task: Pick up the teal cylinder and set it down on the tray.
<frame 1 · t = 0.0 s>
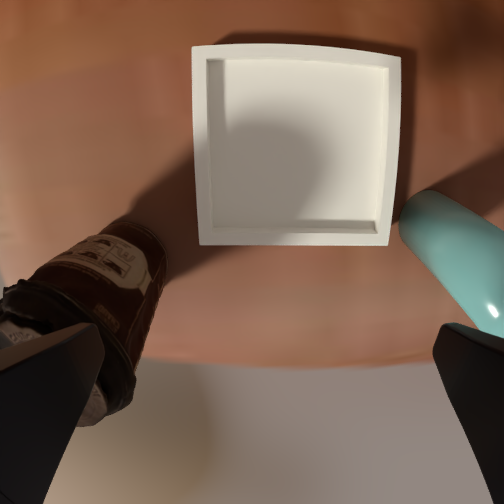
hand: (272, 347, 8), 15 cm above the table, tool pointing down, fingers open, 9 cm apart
coffee cup: (129, 257, 23), on the table
teal cylinder: (426, 221, 21), on the table
tray: (296, 143, 20), on the table
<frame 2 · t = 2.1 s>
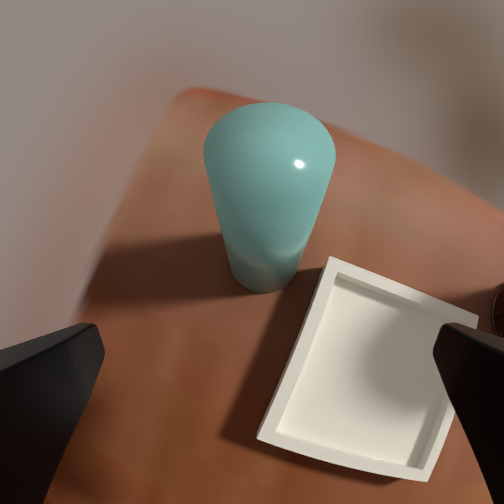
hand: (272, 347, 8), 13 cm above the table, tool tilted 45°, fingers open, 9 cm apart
teal cylinder: (264, 259, 23), on the table
tray: (374, 377, 19), on the table
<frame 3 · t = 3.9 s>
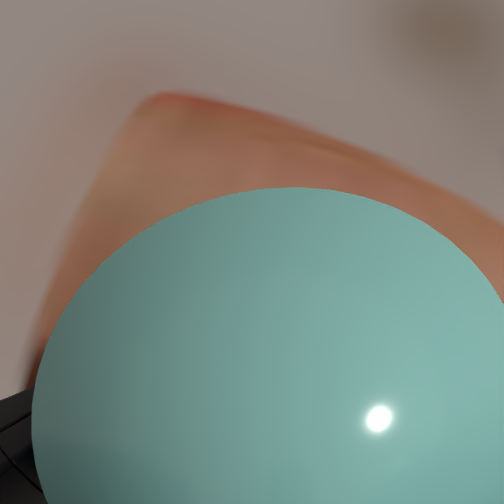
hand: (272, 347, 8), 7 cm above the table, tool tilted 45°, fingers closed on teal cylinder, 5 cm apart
teal cylinder: (265, 389, 13), on the table, touching gripper
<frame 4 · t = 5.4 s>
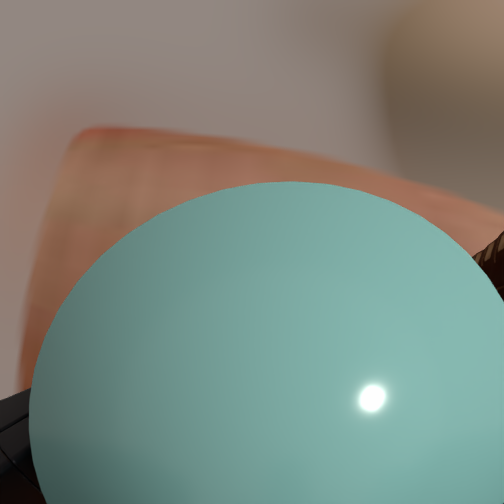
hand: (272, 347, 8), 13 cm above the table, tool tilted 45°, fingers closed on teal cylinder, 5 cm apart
coffee cup: (464, 310, 21), on the table
teal cylinder: (265, 388, 13), point 7 cm above the table, touching gripper
when the fingers open (9 cm above the table, at t = 6.8 s): teal cylinder drops 1 cm, resting on tray.
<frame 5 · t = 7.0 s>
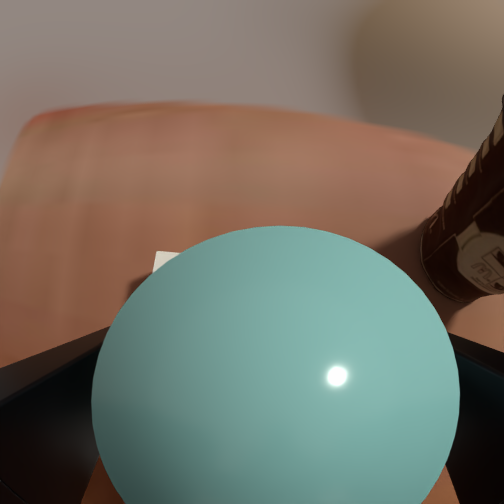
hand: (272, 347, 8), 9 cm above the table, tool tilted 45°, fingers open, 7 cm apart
coffee cup: (457, 259, 18), on the table
teal cylinder: (265, 388, 14), point 1 cm above the table, touching tray
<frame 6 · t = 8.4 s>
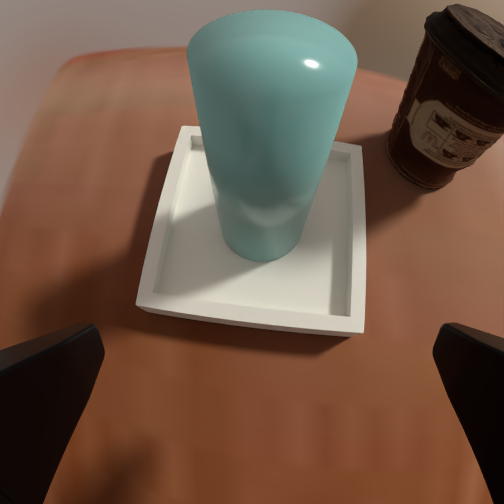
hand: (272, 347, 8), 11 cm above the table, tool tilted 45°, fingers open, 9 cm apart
coffee cup: (420, 159, 23), on the table
teal cylinder: (261, 222, 19), point 1 cm above the table, touching tray
tray: (260, 229, 20), on the table
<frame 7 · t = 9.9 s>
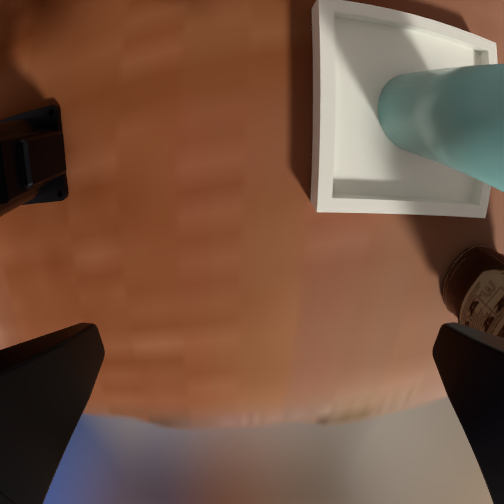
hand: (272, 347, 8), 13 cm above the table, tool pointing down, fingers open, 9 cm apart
coffee cup: (468, 279, 22), on the table
teal cylinder: (414, 112, 16), point 1 cm above the table, touching tray
tray: (406, 112, 17), on the table
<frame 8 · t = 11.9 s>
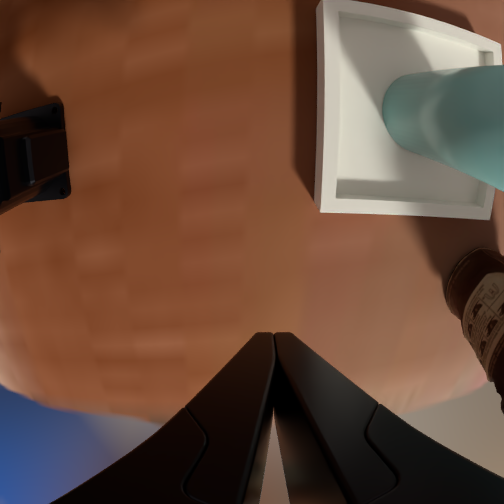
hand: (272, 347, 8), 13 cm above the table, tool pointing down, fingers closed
coffee cup: (472, 281, 22), on the table
teal cylinder: (418, 113, 16), point 1 cm above the table, touching tray
tray: (411, 112, 17), on the table
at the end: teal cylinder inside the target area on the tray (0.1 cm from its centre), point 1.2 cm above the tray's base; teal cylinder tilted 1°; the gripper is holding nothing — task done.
